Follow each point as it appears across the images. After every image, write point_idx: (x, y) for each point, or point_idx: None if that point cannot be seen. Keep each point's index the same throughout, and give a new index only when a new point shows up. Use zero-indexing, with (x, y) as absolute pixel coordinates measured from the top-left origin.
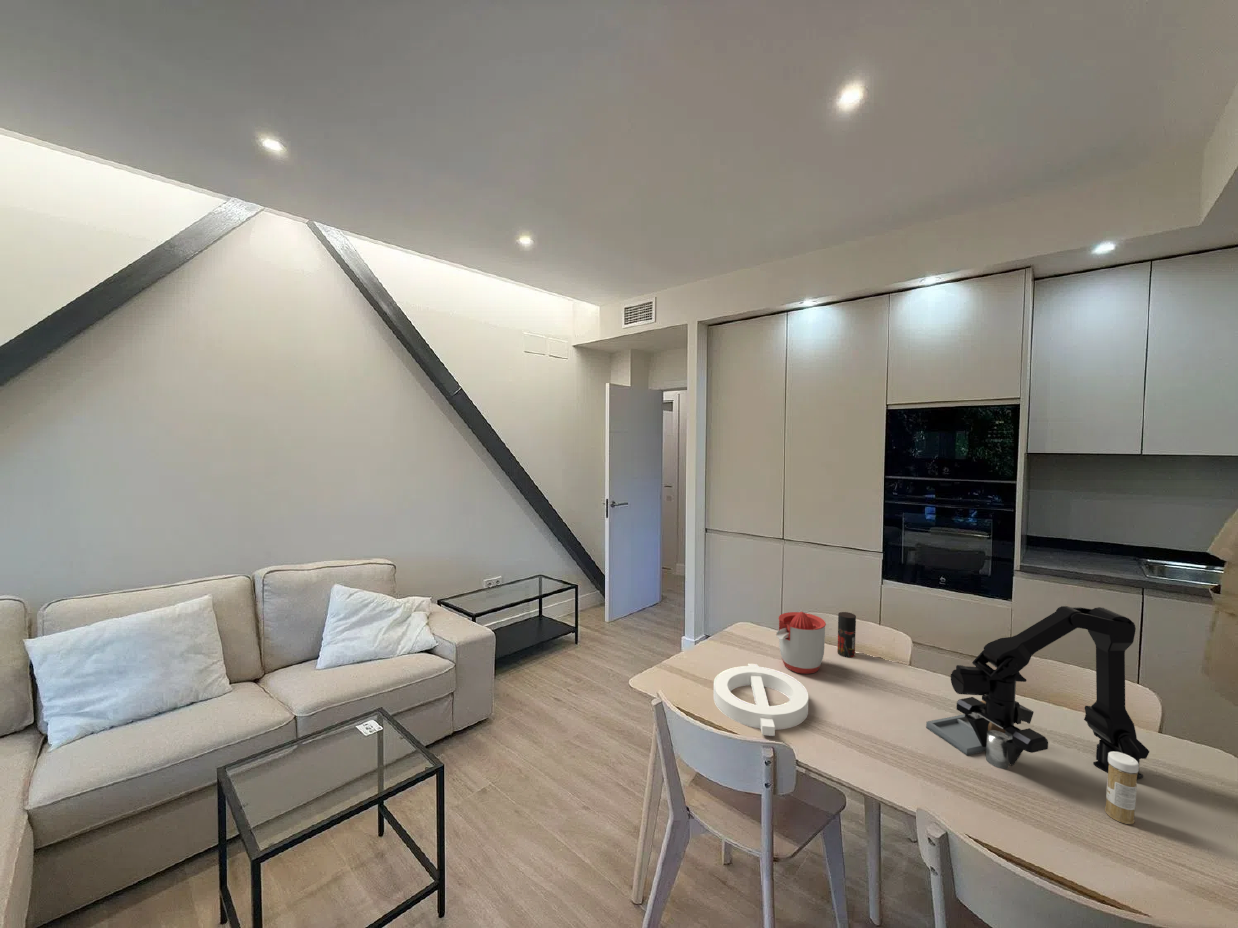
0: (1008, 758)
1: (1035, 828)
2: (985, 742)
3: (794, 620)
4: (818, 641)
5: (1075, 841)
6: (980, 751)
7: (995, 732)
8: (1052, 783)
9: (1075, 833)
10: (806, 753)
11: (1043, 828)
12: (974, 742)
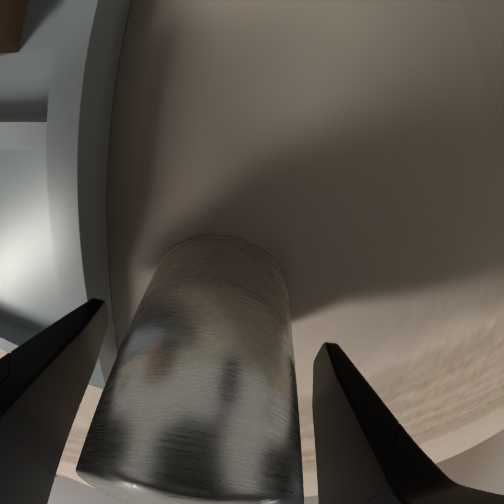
0: (315, 414)
1: (421, 444)
2: (93, 335)
3: None
4: None
5: (488, 410)
6: (107, 283)
7: (127, 487)
8: (493, 220)
9: (496, 395)
10: (86, 484)
11: (436, 434)
12: (35, 241)
